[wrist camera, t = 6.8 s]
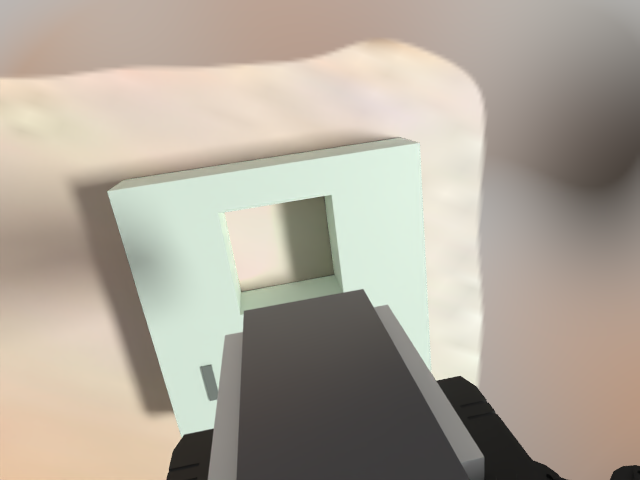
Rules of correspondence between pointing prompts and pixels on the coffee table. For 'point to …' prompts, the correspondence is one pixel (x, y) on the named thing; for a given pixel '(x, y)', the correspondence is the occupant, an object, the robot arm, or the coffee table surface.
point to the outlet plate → (230, 303)
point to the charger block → (333, 398)
